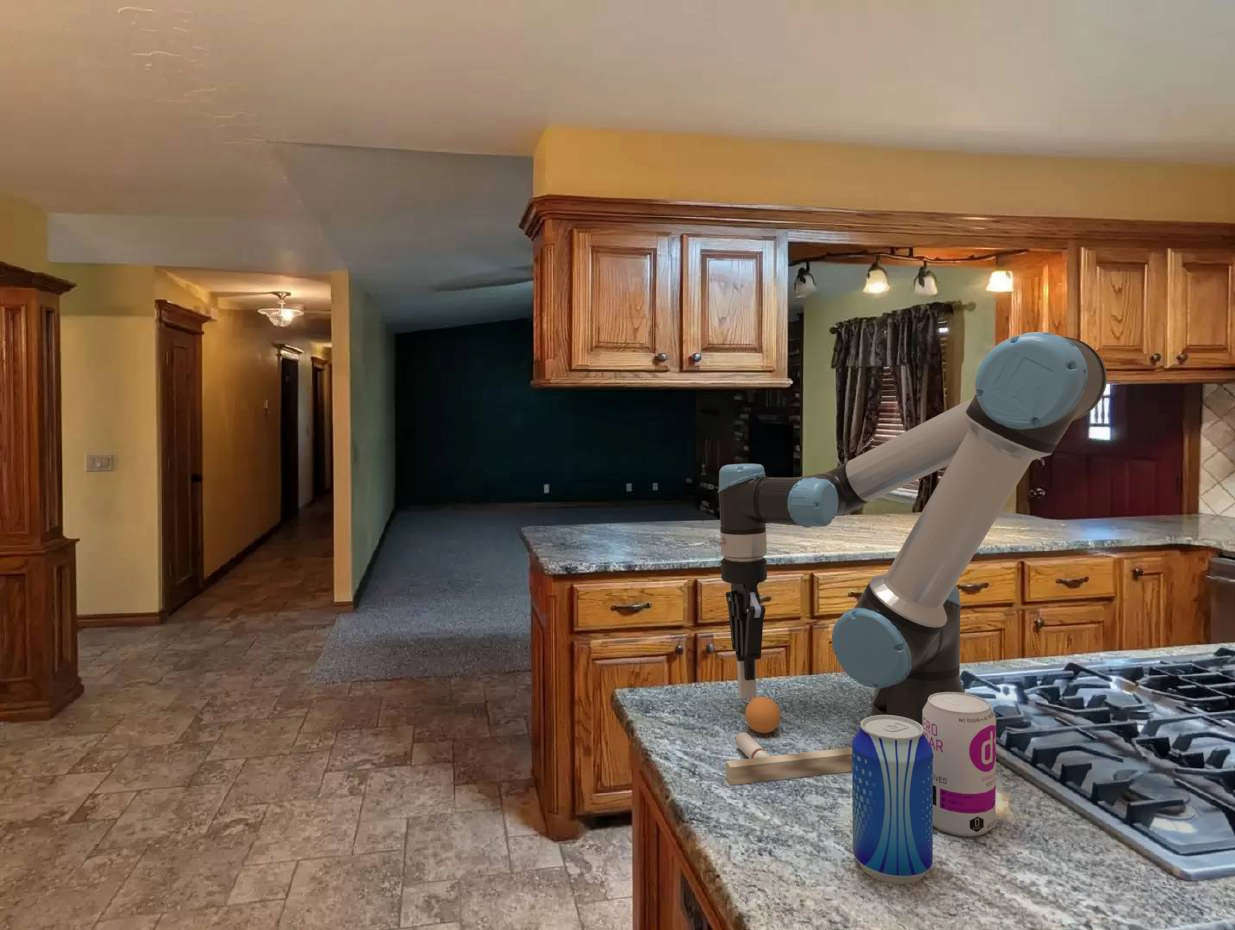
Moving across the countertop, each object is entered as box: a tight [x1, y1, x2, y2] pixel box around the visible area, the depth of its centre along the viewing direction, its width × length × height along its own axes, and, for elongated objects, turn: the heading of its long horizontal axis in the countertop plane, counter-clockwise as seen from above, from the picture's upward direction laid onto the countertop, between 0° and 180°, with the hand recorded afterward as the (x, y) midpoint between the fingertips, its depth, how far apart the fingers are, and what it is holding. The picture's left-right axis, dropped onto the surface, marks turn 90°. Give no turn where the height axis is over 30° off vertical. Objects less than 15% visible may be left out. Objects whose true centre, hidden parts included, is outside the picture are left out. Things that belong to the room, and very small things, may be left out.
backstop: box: [725, 747, 852, 786], centre depth 115 cm, size 22×2×2 cm, turn 101°
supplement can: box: [922, 692, 997, 837], centre depth 100 cm, size 8×8×15 cm
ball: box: [744, 696, 782, 734], centre depth 129 cm, size 6×6×6 cm
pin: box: [734, 731, 771, 759], centre depth 119 cm, size 2×2×9 cm
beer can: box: [851, 715, 934, 885], centre depth 91 cm, size 8×8×16 cm
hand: (747, 696), depth 138 cm, fingers closed
